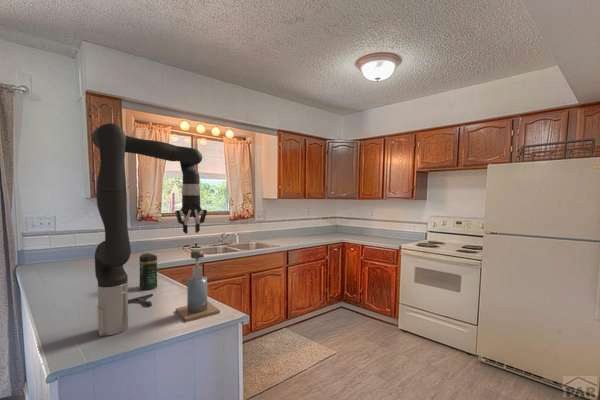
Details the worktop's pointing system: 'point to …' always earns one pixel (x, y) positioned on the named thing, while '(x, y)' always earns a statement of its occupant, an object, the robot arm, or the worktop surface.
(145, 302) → the bracket
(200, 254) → the grey dome cap
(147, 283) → the coffee jar
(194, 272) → the soap dispenser
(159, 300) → the worktop surface
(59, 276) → the worktop surface
